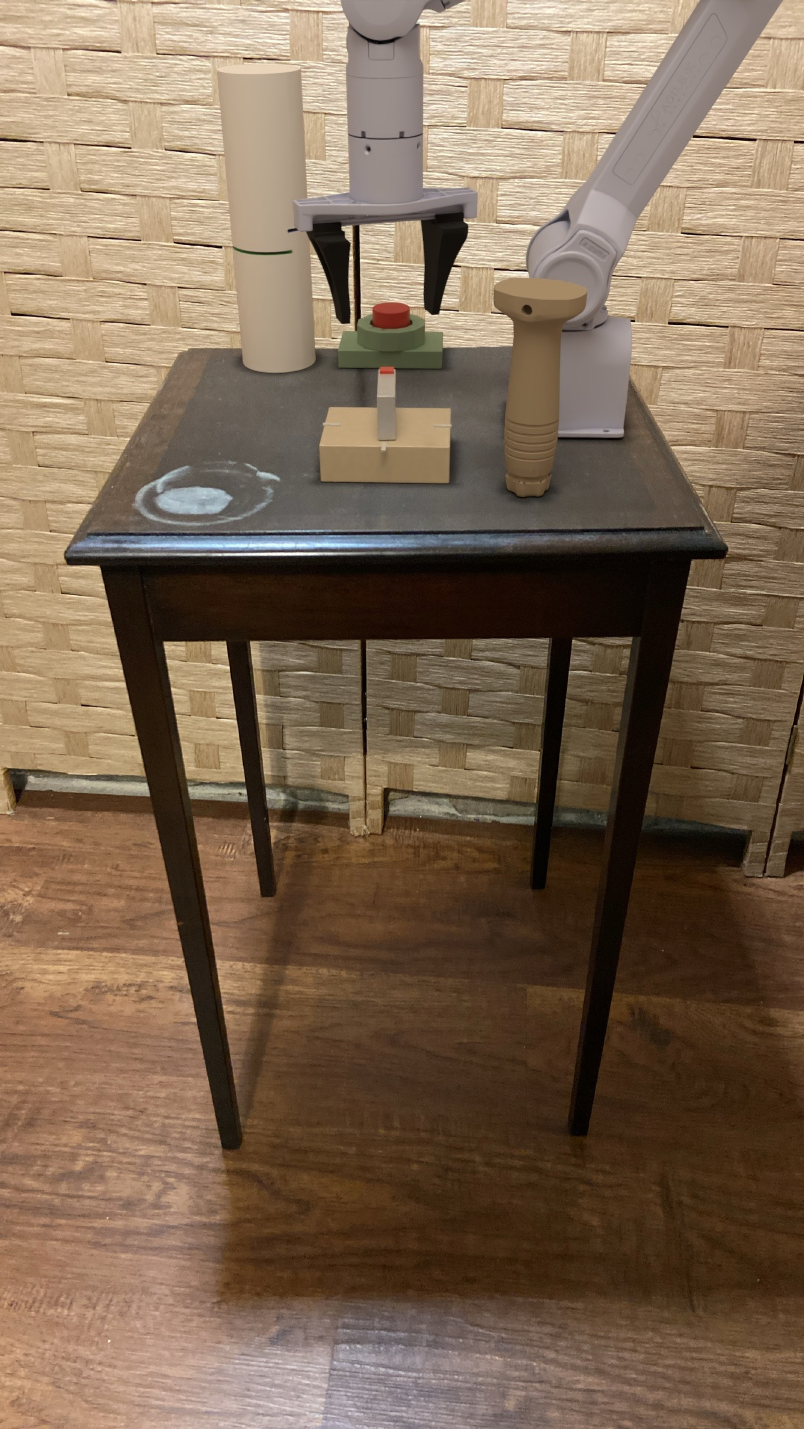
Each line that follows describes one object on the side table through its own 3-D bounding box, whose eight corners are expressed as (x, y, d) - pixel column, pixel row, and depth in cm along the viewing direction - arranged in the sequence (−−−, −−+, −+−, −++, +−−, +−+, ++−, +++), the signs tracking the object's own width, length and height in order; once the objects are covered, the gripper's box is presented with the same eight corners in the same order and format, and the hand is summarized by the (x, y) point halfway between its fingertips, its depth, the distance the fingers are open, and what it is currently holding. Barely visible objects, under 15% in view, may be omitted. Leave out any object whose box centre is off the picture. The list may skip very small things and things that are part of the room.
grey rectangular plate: (395, 440, 86) (395, 392, 84) (377, 440, 86) (376, 392, 84) (396, 411, 91) (395, 365, 89) (378, 411, 91) (378, 365, 89)
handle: (556, 510, 83) (573, 303, 74) (476, 494, 86) (483, 291, 77) (577, 485, 87) (596, 284, 78) (500, 470, 89) (509, 274, 80)
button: (410, 320, 110) (410, 302, 109) (409, 331, 108) (409, 313, 106) (373, 320, 111) (373, 301, 110) (371, 331, 108) (371, 313, 107)
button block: (442, 347, 113) (443, 312, 111) (441, 369, 108) (442, 332, 106) (343, 346, 114) (342, 311, 112) (338, 368, 108) (336, 332, 106)
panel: (451, 437, 95) (452, 401, 93) (450, 489, 86) (451, 450, 85) (330, 436, 95) (329, 399, 93) (318, 487, 87) (315, 449, 85)
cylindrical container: (330, 359, 111) (318, 67, 96) (275, 378, 106) (254, 76, 92) (282, 343, 115) (263, 61, 100) (227, 360, 110) (199, 68, 96)
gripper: (458, 119, 90) (454, 294, 98) (280, 129, 86) (291, 310, 94) (489, 134, 84) (483, 317, 92) (301, 145, 81) (311, 335, 89)
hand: (387, 315), depth 93 cm, fingers open, 7 cm apart
